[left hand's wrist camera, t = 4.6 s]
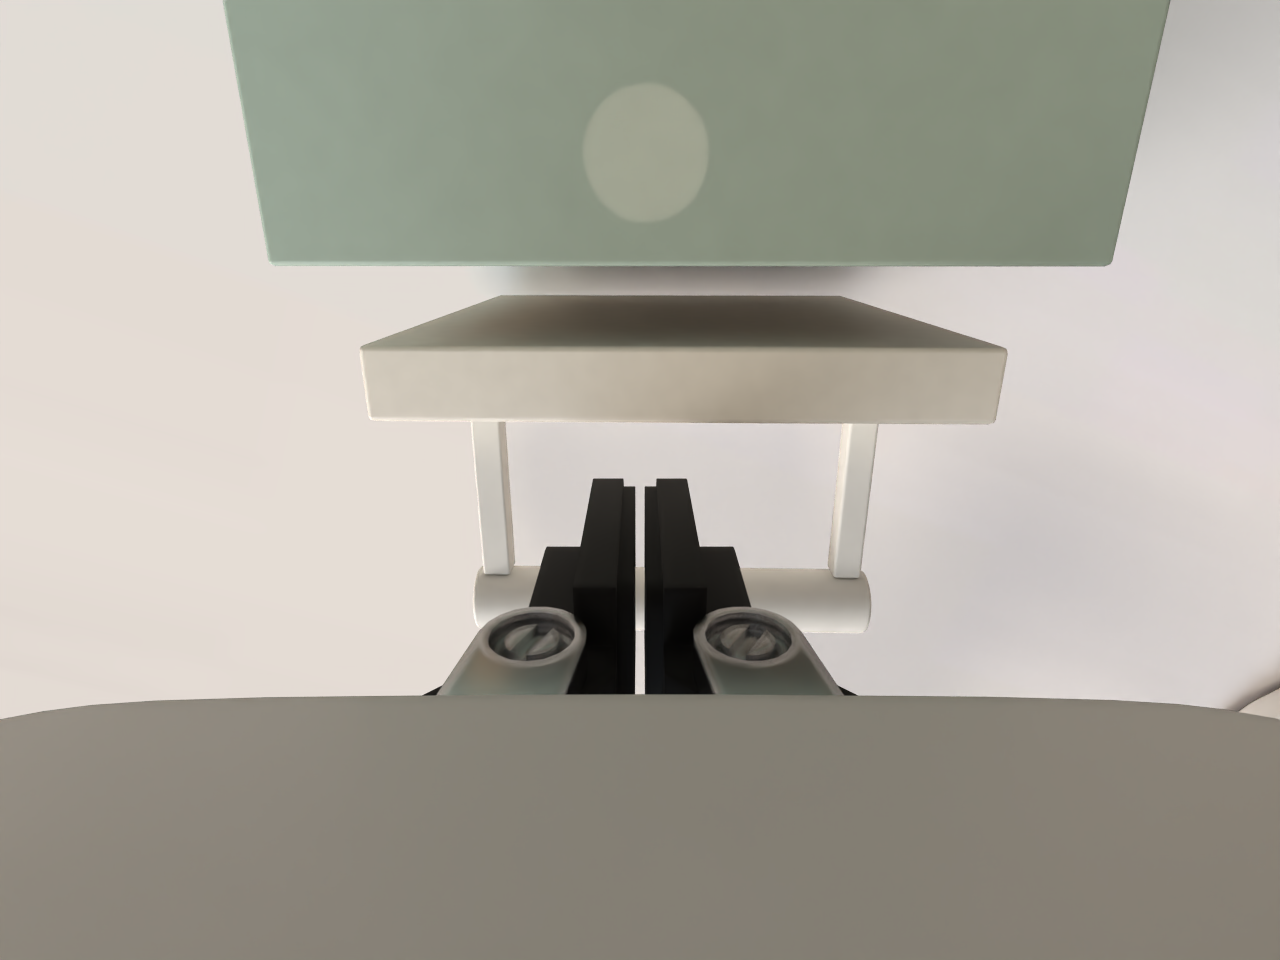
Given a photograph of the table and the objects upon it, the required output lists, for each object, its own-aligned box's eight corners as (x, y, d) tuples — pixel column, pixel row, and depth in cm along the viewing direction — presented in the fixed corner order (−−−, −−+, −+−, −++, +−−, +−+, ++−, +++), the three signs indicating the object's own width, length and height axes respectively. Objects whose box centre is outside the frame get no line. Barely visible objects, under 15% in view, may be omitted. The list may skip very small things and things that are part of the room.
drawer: (820, 519, 22) (941, 728, 12) (513, 516, 22) (408, 720, 13) (905, -358, 15) (1326, -1364, 5) (454, -348, 15) (124, -1300, 6)
